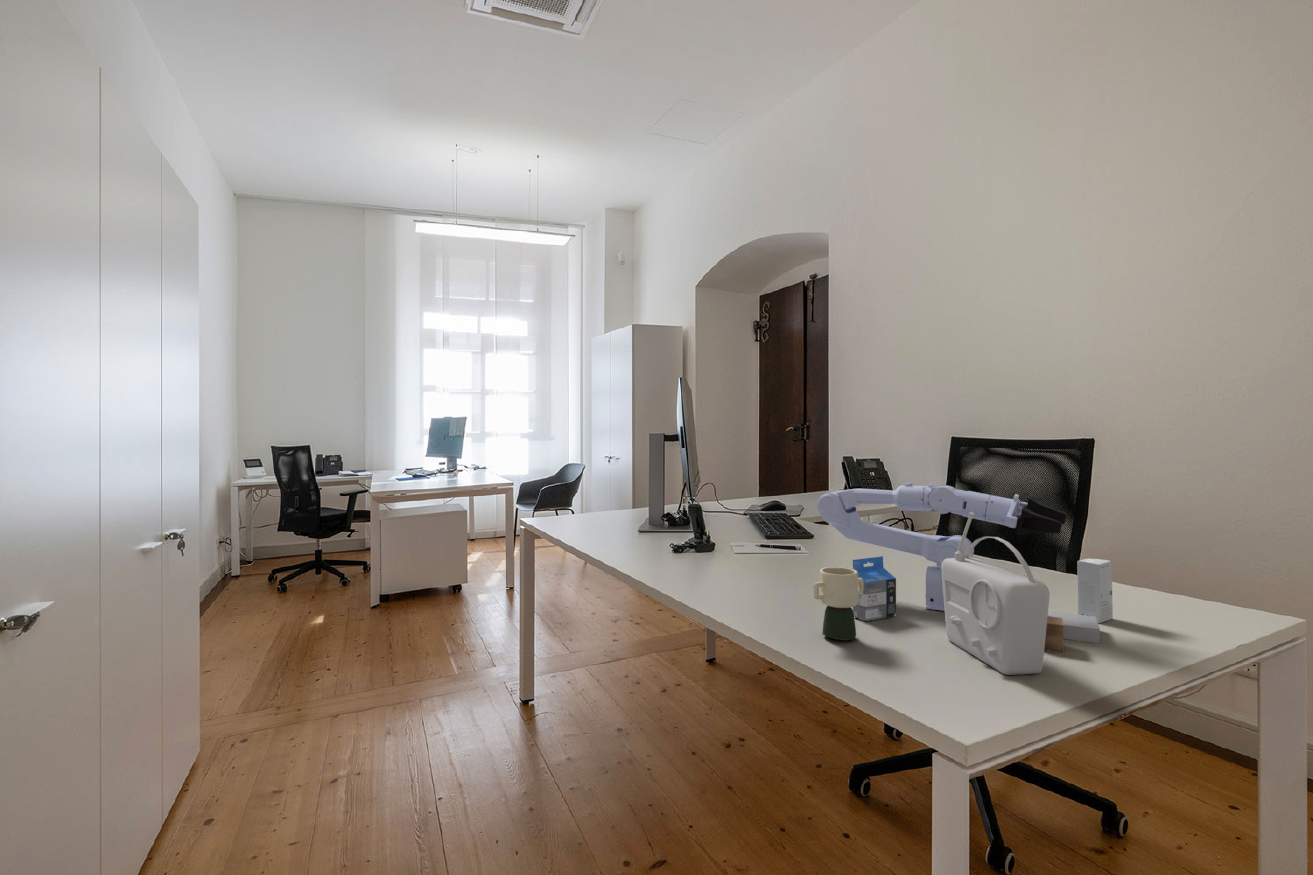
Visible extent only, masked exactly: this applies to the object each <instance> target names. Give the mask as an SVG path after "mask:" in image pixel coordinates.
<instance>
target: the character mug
mask: <svg viewBox="0 0 1313 875" xmlns="http://www.w3.org/2000/svg"><path fill="white" fill-rule="evenodd" d="M863 591H864V589H863V579H862V578H858V572H857V571H856V570H854V569H853V568H848V567H841V566H827V567H826V566H825V567H822V568H820V570H819V581H816V582H814V583H813V598H814V600H820V601H821V603H822V604H823V605H826V608H825V610H824V617H823V623H822V635H823V636H826V637H829V638H831V639H832V638H834V639H833V640H838V641H839V640H840V641H851V640H854V639H855V638H857V631H856V630H857V628H856V622H855V618H854V614H853V607H854V606H856V605H857V604H858V595H861V594H863Z"/></svg>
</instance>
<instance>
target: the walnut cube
mask: <svg viewBox="0 0 1313 875" xmlns="http://www.w3.org/2000/svg"><path fill="white" fill-rule="evenodd" d="M1044 651H1046V652H1047V651H1049V652H1054V653H1062V654H1063V653H1064V638H1063V620H1062V618H1059V617H1051V616H1048V617H1047V627H1046V637H1045V647H1044Z"/></svg>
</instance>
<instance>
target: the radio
mask: <svg viewBox="0 0 1313 875" xmlns="http://www.w3.org/2000/svg"><path fill="white" fill-rule="evenodd" d="M968 516H969V517H967V521H966V524H965V527H964V530H963V533H962V535H961V536H962V538H961V541H960V544H959V547H958V551H957V552H955V558H947V559H945V560H943V562H942V565H941V570H942V583H943V596H944V609H945V611H944V617H945V618H944V620H945V630H946V631H945V634H946V636H947V639H948V640H949V641H950V642H951V643H953V644H955V645H956V646H958V647H959V648H961V649H962V650H964V651H966V653H967V652H968V653H969V654H970V655H972V656H974V657H976V658H977V659H979V660H980V661H982V662H983V663H985V664H986V665H988V666H990V667H991V668H993V669H995V670H996V671H997V672H1000V673H1001V674H1002V675H1003V674H1004V675H1008V676H1010V675H1012V676H1014V675H1015V676H1016V675H1033V674H1034V675H1036V674H1039V673H1041V672H1042V671H1043V666H1044V655H1045V650H1044V647H1045V637H1046V627H1047V617H1048V611H1049V605H1050V590H1049V587H1048V586H1047V585H1046V583H1044V582H1043V581H1041V580H1038V579H1036V578H1034V576H1033V574H1032V570H1031V569H1030V566H1029V564H1028V563H1027V562H1026V560H1025V559H1024V557H1023V556H1022V554H1021V553H1020V551H1018V549H1017V548H1015V546H1013V545H1012V544H1011V543H1010V542H1009V541H1007V540H1005V539H1003V538H1000V537H999V536H982V537H979V538H977V539H975V540H974V541H973V542H971V543H972V544H971V545H970V547H969V548H968V549H967V551H966V553H964V552H962V551H961V549H962V546H963V543H964V540H965V537H966V538H967V534H968V531H969V528H970V525H971V522H972V520H973V519H974V518H973V517H974V513H973V512H969V515H968ZM986 539H995V540H996V541H999V542H1000V543H1003V544H1004V545H1005V546H1006V547H1007V548H1008V549H1010V552H1013V554H1014V556H1015V557H1016V558H1017V560H1018V561H1019V563H1020V565H1021V566H1022V568H1023V570H1024V573H1025V575H1024V574H1022V573H1019V572H1016V571H1013V570H1011V569H1007V568H1004V567H1001V566H999V565H996V564H993V563H990V562H988V561H984V560H982V559H979V558H976V557H972V558H969V556H970V554H971V551H972V549H973V548H974V549H975V547H976V546H977V545H978V544H979V543H980V542H981V541H983V540H986Z"/></svg>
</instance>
